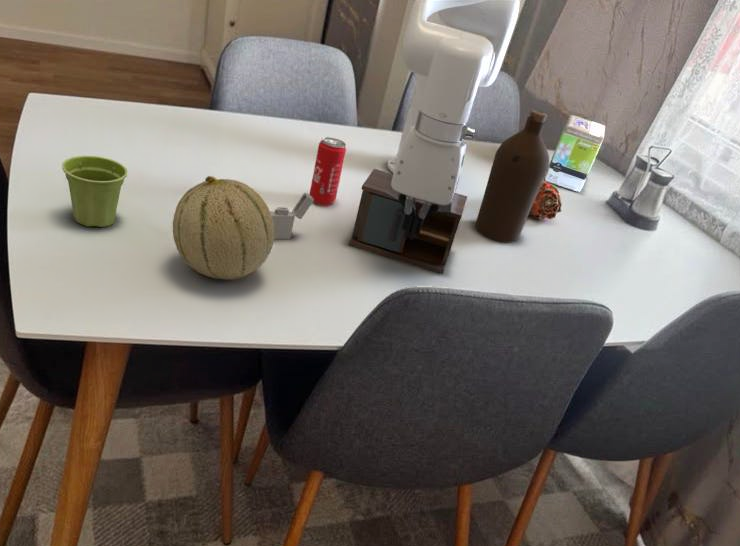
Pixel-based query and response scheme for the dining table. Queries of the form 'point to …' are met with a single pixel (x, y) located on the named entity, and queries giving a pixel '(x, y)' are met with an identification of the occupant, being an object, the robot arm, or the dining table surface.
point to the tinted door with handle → (383, 223)
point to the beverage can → (327, 171)
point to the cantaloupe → (223, 228)
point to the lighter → (289, 217)
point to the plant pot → (94, 188)
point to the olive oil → (514, 182)
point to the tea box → (575, 153)
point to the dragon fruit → (546, 202)
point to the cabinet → (425, 246)
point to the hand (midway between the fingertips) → (409, 235)
